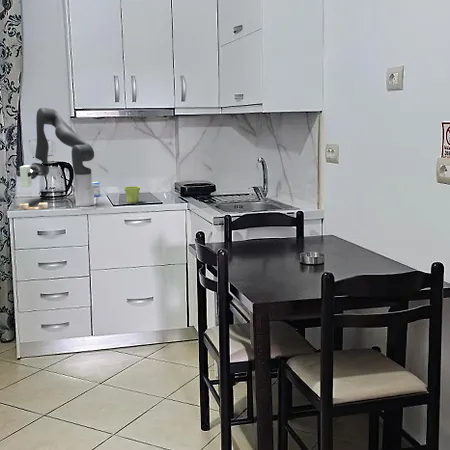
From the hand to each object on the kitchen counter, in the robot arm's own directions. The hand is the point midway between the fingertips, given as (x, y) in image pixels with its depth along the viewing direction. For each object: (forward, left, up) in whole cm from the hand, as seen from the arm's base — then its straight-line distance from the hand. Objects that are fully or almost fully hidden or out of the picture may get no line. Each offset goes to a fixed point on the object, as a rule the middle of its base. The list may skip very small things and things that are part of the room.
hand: (24, 174), depth 361 cm
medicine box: (-12, -50, -18) cm, 55 cm away
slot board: (-6, +2, -18) cm, 19 cm away
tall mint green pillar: (+1, -3, -6) cm, 7 cm away
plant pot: (-48, -32, -18) cm, 61 cm away
